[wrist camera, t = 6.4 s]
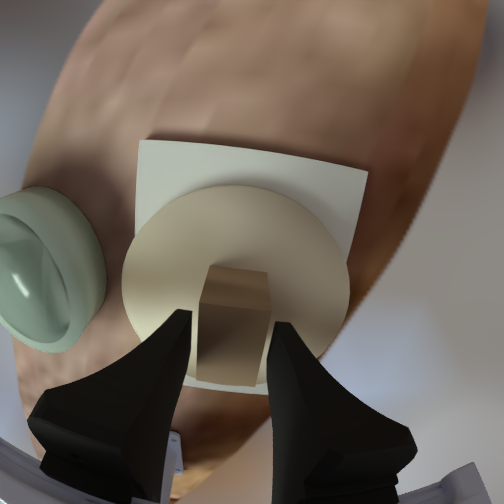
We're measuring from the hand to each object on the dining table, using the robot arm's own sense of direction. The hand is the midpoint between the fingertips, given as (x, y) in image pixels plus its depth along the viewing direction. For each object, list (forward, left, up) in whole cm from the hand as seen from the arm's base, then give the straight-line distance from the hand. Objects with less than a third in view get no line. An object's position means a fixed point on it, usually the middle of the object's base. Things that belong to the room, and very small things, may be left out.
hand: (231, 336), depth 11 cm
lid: (0, 0, -3) cm, 3 cm away
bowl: (0, +11, -3) cm, 12 cm away
